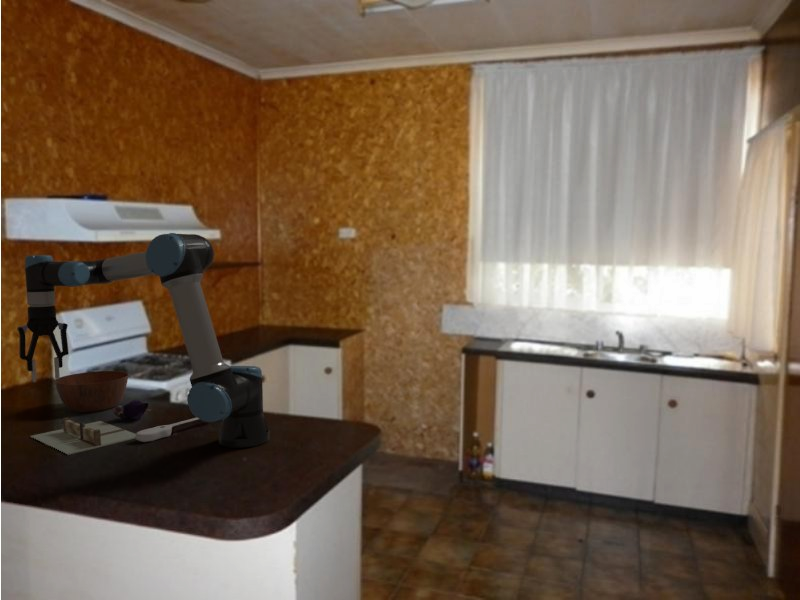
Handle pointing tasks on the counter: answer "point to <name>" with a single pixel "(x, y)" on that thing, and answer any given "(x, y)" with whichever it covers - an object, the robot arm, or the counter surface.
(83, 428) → the fence fixed
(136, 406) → the toy
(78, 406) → the bowl
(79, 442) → the card
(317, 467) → the counter surface
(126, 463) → the counter surface
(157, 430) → the spatula
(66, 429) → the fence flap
